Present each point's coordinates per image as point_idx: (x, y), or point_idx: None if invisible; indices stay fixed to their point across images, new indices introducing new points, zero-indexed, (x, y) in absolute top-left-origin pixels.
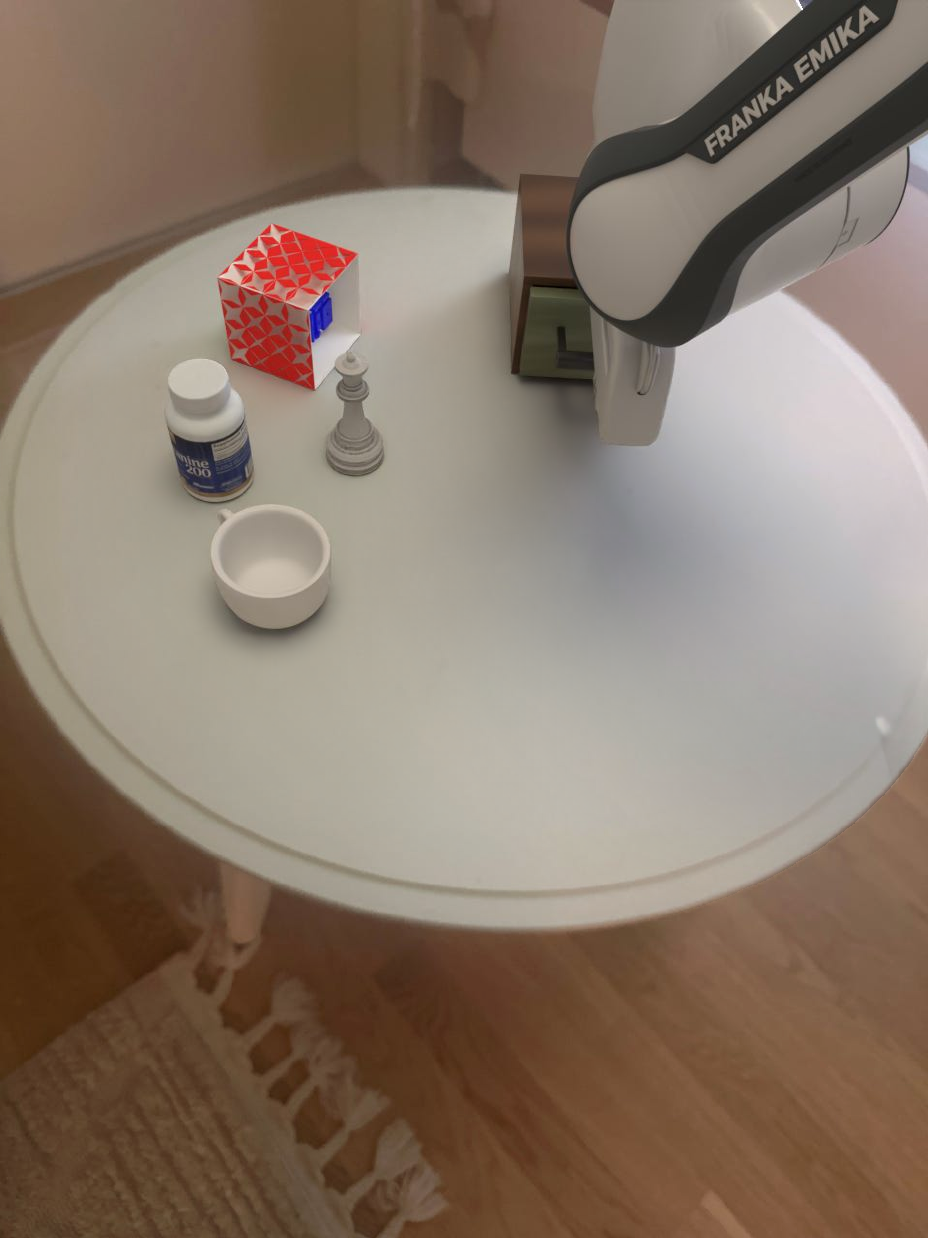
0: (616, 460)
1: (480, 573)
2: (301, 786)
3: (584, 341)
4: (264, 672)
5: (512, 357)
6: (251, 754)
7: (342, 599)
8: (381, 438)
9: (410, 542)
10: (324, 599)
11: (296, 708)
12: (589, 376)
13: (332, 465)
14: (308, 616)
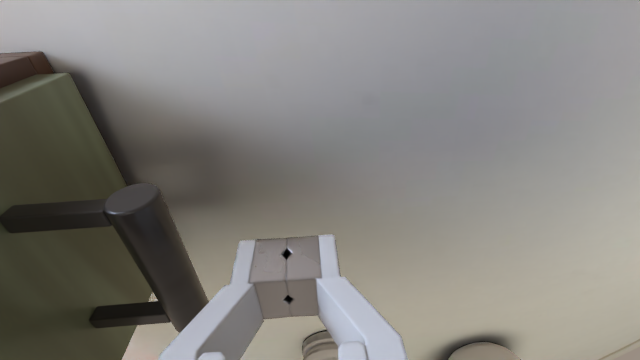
0: (298, 120)
1: (484, 257)
2: (631, 323)
3: (85, 259)
4: (532, 348)
5: None
6: (592, 343)
7: (484, 328)
8: (325, 353)
9: (433, 304)
10: (509, 355)
11: (570, 333)
12: (121, 182)
13: None
14: (518, 357)
